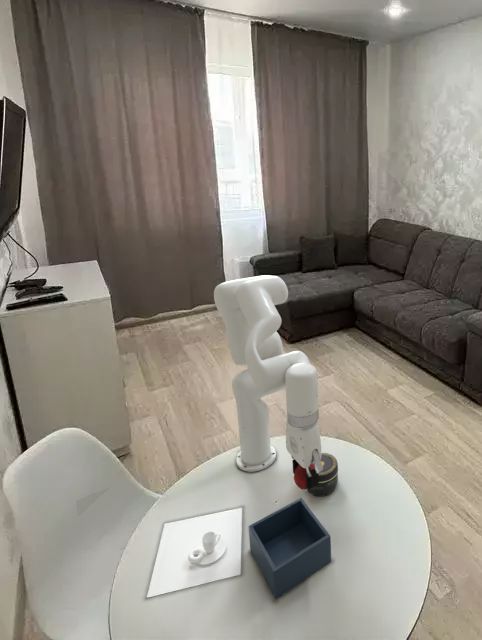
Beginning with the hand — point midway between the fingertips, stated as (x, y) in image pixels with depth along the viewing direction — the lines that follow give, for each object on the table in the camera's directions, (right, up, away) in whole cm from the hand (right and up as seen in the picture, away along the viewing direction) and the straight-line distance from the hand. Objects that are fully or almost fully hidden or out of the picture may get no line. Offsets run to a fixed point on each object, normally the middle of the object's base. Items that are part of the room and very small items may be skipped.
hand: (305, 478), depth 103 cm
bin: (-4, -18, -2) cm, 19 cm away
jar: (+2, -13, +21) cm, 25 cm away
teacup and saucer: (-27, -18, +1) cm, 32 cm away
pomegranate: (0, -3, +1) cm, 3 cm away
